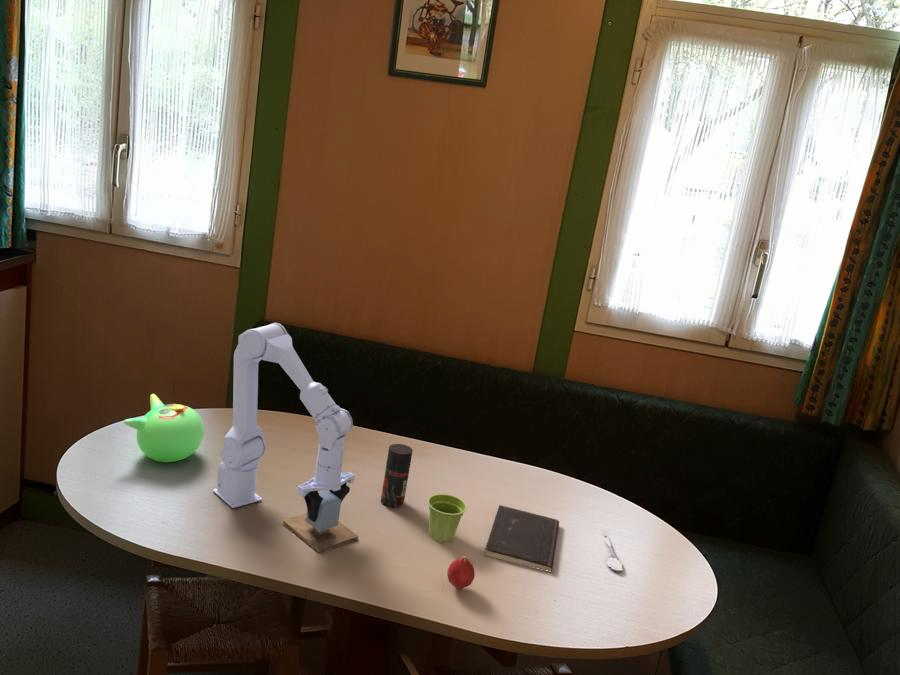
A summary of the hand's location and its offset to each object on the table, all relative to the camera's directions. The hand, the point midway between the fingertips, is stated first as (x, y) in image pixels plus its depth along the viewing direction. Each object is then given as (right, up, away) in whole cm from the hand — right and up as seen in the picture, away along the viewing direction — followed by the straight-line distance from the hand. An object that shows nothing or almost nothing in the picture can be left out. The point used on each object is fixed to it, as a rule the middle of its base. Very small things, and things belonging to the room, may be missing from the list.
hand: (322, 516), depth 171 cm
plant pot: (+27, -7, +8) cm, 29 cm away
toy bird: (-44, +10, +23) cm, 51 cm away
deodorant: (+14, -1, +20) cm, 24 cm away
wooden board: (-1, -4, +1) cm, 4 cm away
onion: (+31, -13, -11) cm, 35 cm away
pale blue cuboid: (0, -2, 0) cm, 2 cm away
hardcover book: (+47, -10, +13) cm, 50 cm away
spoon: (+69, -13, +15) cm, 72 cm away
